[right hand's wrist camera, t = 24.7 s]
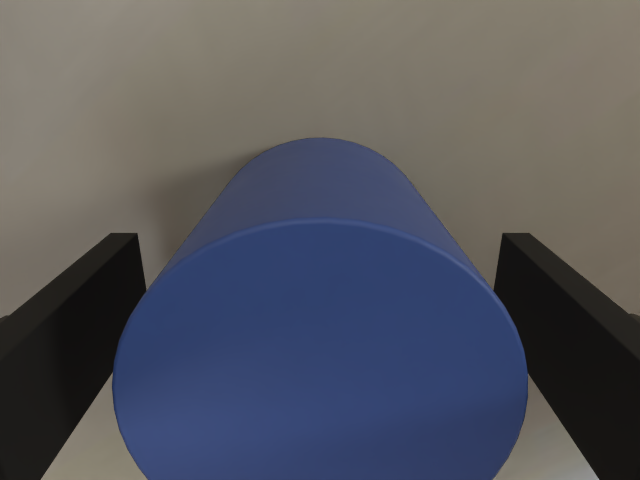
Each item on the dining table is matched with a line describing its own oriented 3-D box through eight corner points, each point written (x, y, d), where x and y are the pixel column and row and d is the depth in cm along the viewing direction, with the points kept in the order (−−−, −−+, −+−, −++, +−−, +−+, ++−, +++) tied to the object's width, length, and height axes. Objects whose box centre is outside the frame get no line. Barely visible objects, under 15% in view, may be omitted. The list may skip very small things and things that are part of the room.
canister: (385, 360, 17) (435, 584, 10) (192, 311, 16) (88, 513, 9) (463, 175, 15) (611, 291, 7) (238, 107, 14) (144, 157, 6)
